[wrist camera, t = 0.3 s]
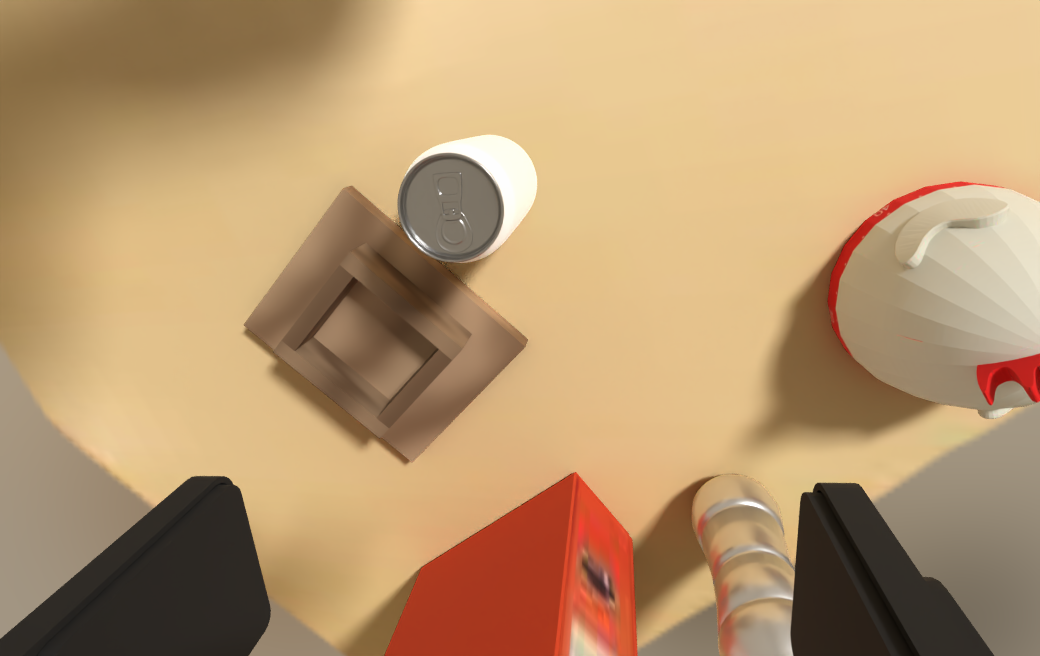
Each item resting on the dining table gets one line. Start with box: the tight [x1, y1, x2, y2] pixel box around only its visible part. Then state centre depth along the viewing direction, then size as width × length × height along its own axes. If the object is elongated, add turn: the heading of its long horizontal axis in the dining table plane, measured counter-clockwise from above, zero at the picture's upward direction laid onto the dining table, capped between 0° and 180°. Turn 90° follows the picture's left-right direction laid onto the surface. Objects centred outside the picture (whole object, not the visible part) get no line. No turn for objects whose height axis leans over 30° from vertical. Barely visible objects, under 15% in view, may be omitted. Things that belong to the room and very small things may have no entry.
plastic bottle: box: [692, 474, 795, 656], centre depth 39 cm, size 6×7×20 cm
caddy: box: [244, 186, 528, 462], centre depth 45 cm, size 17×14×4 cm
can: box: [398, 135, 537, 263], centre depth 37 cm, size 6×6×12 cm
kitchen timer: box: [828, 182, 1040, 419], centre depth 34 cm, size 14×14×15 cm
